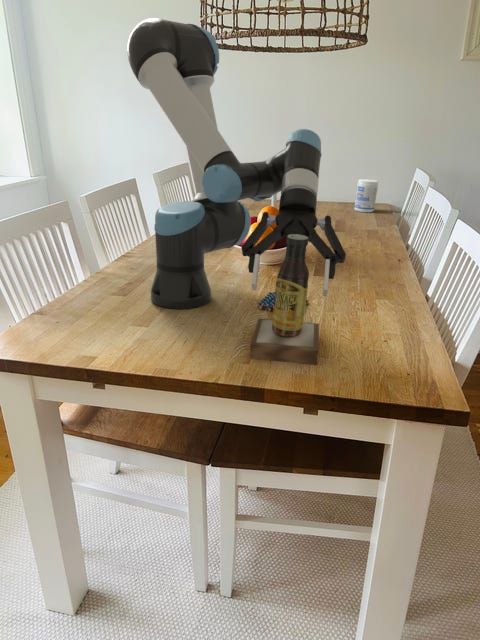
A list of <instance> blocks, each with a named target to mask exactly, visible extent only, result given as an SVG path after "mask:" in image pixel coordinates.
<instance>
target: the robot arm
mask: <svg viewBox="0 0 480 640" xmlns="http://www.w3.org/2000/svg"><path fill="white" fill-rule="evenodd" d="M126 50H127V59H128V62H129V66H130V68H131V70H132V73H133V75H134V76H135V78H136V80H137V81H138V82H139V85H140V86H141V87H143V88H144V89H146V90H149V91H150V93H151V94H152V96H153V97H154V99H155V100H156V101H157V104H158V105H159V107H160V108H161V109H162V111H163V112H164V114H165V115H166V117H167V118H168V121H170V123H171V125H172V126H173V127H174V129H175V131H176V132H177V134H178V135H179V137H180V139H182V141H183V143H184V144H185V146H186V151H187V156H188V160H189V165H190V170H191V176H192V179H193V184H194V190H195V195H194V197H193V198H192V200H184V201H175V202H170V203H167V204H164V205H162V206H161V207H158V209H157V211H156V212H155V217H154V219H155V220H154V221H155V223H154V226H153V227H154V233H155V249H156V250H155V254H156V255H155V256H156V271H155V274H154V277H153V281H152V284H151V288H150V300H151V302H152V303H153V304H155V305H156V306H160V307H162V308H167V309H173V310H174V309H175V310H178V309H179V310H183V309H184V310H185V309H193V308H197V307H201V306H204V305H207V304H208V303H210V301H211V300H212V289H211V286H210V283H209V279H208V277H207V274H206V271H205V254H208V253H212V252H216V251H221V250H223V249H231V248H233V247H234V246H237V245H239V244H242V242H243V241H244V242H243V244H242V246H241V254H242V256H243V257H248V259H249V260H248V266H247V268H248V272H249V274H252V278H251V290H252V291H257V288H258V287H257V285H258V279H259V271H260V264H261V259H260V258H261V257H260V256H261V255H263V254H264V253H265V252H267V250H268V249H269V248H271V247H272V246H273V245H274V244H275V243H277V242H278V241H280V240H282V239H283V238H284V237H285V238H287V236H288V235H290V234H300V235H304V236H307V237H308V243H310V244H312V246H313V247H315V249H316V251H318V253H320V255H321V256H322V257H323V259H324V260H325V263H324V274H323V287H322V296H325V297H327V296H328V291H329V280H334V278H335V274H336V265H337V264H339V263H340V264H344V263H345V260H346V255H347V254H346V252H345V249H344V247H343V246H342V244H341V241H340V240H339V237H338V236H337V234H336V231H335V229H334V228H333V225H332V217H331V216H330V215H326V216H324V218H317V215H316V214H317V213H316V212H317V202H318V191H319V190H318V189H319V176H320V166H321V165H320V164H321V159H322V142H321V137H320V136H319V135H318V133H316V132H315V131H313V130H311V129H307V128H301V129H300V128H299V129H296V130H293V131H292V132H291V133H290V134H289V135H288V137H287V140H286V143H285V147H284V149H282V150H281V151H279V152H278V153H276V154H274V155H273V156H271V157H269V158H268V159H266V160H264V161H256V162H255V161H254V162H240V161H239V159H238V158H237V156H236V155H235V154H234V152H233V150H232V149H231V147H230V146H229V144H228V142H227V141H226V140H225V138H224V137H223V135H222V134H221V132H220V131H219V130H218V129H219V128H218V123H217V119H216V114H215V108H214V103H213V99H212V92H211V87H212V86H213V84H214V82H215V77H214V76H215V74H216V73H217V71H218V67H219V66H218V64H219V63H220V51H219V46H218V43H217V40H216V39H215V37H214V36H213V35H212V33H211V32H210V31H209V30H208V29H206V28H204V27H201V26H198V25H196V24H193V23H183V22H177V21H172V20H168V19H167V20H166V19H163V18H159V17H158V18H157V17H153V18H152V17H151V18H147V19H145V20H142V21H141V22H139V23H138V24H137V25H136V26H135V27H134V28H133V30H132V31H131V32H130V34H129V38H128V41H127V49H126ZM279 193H280V198H279V205H278V213H277V214H276V215H271V214H269V212H268V211H264V212H263V213H262V216H261V219H260V222H259V223H258V224H257V226H255V228H254V229H253V230H252V232H251V233H250V229H251V223H252V222H251V215H250V211H249V209H248V208H247V206H245V204H244V203H243V202H241V200H246V199H249V200H254V202H261V201H264V200H266V199H270V198H272V197H273V196H274V195H276V194H279ZM274 223H275V225H276V226H275V227H274V228H273V230H272V231H271V232H270V233H269V234H267V235H266V236H265V237H263V235H264V234H265V232H266V231H267V229H268V228H269V227H270V226H272V225H273V224H274ZM317 226H319V227H320V229H321V230H322V231H324V235H325V237H326V239H327V241H328V243H329V246H330V247H329V246H328V244H327V243H326V242H325V240H323V239H322V238H321V236H320V235H319V234H318V233H317V230H316V227H317ZM249 233H250V234H249ZM248 234H249V236H248ZM247 236H248V237H247ZM261 237H263V238H262V239H261ZM245 239H246V240H245ZM260 239H261V240H260Z"/></svg>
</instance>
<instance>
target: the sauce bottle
mask: <svg viewBox="0 0 480 640" xmlns="http://www.w3.org/2000/svg"><path fill="white" fill-rule="evenodd" d="M285 243H286V248H285V250H286V251H285V255H284V256H285V257H284V260H283V263H282V264H281V266H280V267H279V270H278V273H277V276H276V280H275V281H276V282H275V291H274V292H275V298H274V308H273V309H272V326H273V327H272V330H273V331H274V333H276V334H278V335H280V336H286V337H293V336H297V335H299V334H300V333H301V329H302V327H303V322H304V319H305V311H306V306H307V304H306V297H307V296H308V289H309V288H308V287H309V277H310V271H309V268H308V266H307V264H306V254H307V253H306V251H307V246H308V245H309V241H308V237H307V236H304V235H300V234H290V235H288V236H287V237H286V241H285ZM307 298H308V297H307ZM305 305H306V306H305Z"/></svg>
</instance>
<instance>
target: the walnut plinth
mask: <svg viewBox="0 0 480 640" xmlns="http://www.w3.org/2000/svg"><path fill="white" fill-rule="evenodd" d="M256 322H257V323H256V326H255V328H254V331H253V335H252V339H251V342H250V347H249V359H255V360H265V361H266V360H267V361H275V362H287V363H295V364H296V363H298V364H305V365H306V364H307V365H315V366H316V365H318V360H319V359H318V358H319V357H318V356H319V337H320V335H319V334H320V333H319V332H320V331H319V329H320V323H316V322H315V323H314V322H304V321H303V327H302V329H301V333H300V334H299V335H297V336H293V337H286V336H280V335H278V334H276V333H274V331H273V330H272V327H273V326H272V319H270V318H269V319H268V318H258V319H257V321H256Z"/></svg>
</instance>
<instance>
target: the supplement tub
mask: <svg viewBox="0 0 480 640" xmlns="http://www.w3.org/2000/svg"><path fill="white" fill-rule="evenodd" d="M378 185H379V180H376V179H366V178H361V179H358V181H357V186H356V187H357V188H356V194H355V202H354V210H355V211H356V212H359V213H373V212H374V211H375V206H376V199H377V194H378V187H379V186H378Z"/></svg>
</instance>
